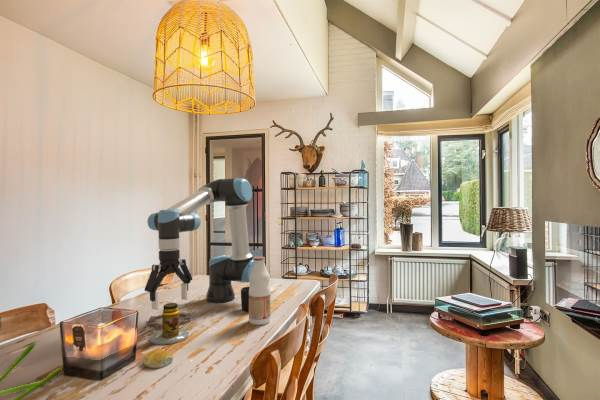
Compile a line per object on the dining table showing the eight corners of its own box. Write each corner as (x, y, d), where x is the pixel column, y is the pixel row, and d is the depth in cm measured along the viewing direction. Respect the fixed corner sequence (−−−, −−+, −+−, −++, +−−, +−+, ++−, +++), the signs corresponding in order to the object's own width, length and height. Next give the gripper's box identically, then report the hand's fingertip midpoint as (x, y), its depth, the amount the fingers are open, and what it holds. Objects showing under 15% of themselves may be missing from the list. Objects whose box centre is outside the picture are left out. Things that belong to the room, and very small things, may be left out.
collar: (191, 313, 163) (191, 309, 163) (189, 325, 146) (189, 321, 146) (152, 316, 159) (152, 312, 159) (145, 329, 142) (145, 325, 142)
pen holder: (264, 308, 171) (264, 287, 171) (252, 313, 163) (252, 292, 163) (248, 305, 175) (248, 285, 175) (236, 310, 167) (236, 289, 167)
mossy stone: (160, 355, 118) (160, 343, 119) (177, 361, 114) (177, 349, 114) (137, 364, 111) (137, 352, 112) (155, 371, 107) (155, 358, 107)
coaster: (189, 329, 142) (189, 327, 142) (187, 342, 129) (187, 340, 129) (153, 332, 139) (153, 330, 139) (146, 346, 125) (146, 344, 125)
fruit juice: (252, 326, 145) (252, 259, 145) (246, 320, 153) (245, 256, 153) (273, 323, 149) (273, 258, 149) (266, 317, 157) (265, 255, 158)
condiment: (173, 340, 129) (173, 307, 129) (153, 338, 131) (153, 306, 131) (184, 332, 136) (184, 302, 136) (164, 331, 138) (164, 301, 138)
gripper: (188, 244, 147) (189, 294, 147) (133, 253, 125) (134, 312, 126) (200, 245, 143) (201, 297, 143) (146, 255, 121) (147, 315, 122)
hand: (170, 304), depth 134 cm, fingers open, 13 cm apart
